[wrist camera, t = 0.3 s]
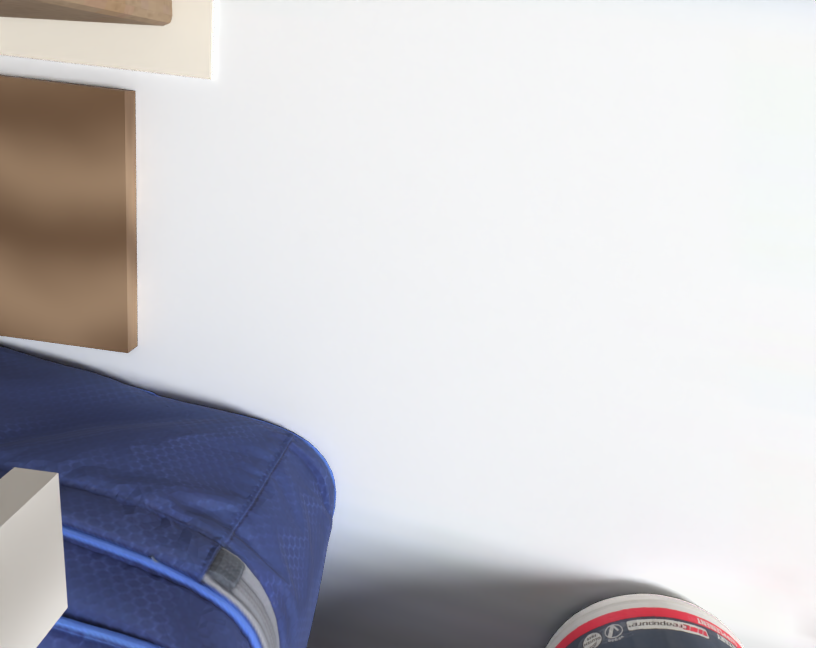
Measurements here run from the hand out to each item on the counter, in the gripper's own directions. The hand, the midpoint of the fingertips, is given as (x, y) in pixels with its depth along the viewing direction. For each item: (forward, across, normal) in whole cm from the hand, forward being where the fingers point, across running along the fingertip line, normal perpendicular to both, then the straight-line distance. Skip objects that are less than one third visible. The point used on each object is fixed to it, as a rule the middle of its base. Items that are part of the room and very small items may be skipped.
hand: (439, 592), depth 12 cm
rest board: (+28, -25, -1) cm, 37 cm away
